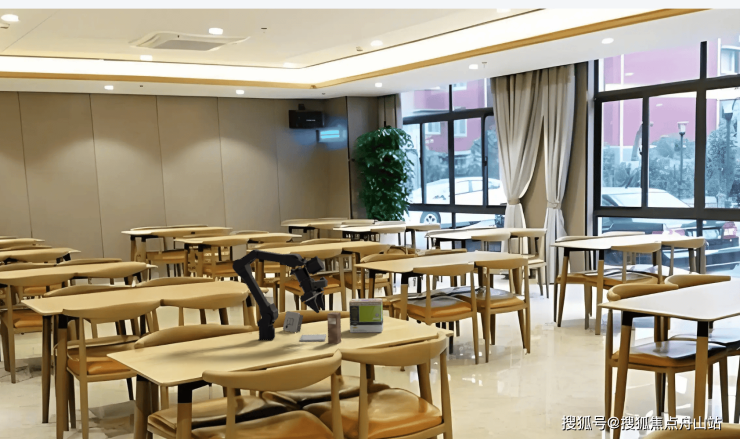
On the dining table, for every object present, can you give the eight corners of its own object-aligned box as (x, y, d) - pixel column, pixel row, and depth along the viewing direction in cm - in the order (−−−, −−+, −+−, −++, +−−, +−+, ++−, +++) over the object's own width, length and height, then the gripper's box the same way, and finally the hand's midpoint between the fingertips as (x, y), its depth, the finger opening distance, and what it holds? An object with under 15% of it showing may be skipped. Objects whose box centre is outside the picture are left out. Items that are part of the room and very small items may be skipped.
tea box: (383, 328, 341) (383, 297, 341) (381, 333, 331) (381, 301, 331) (352, 328, 343) (351, 297, 342) (349, 333, 333) (348, 301, 332)
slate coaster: (299, 341, 316) (299, 339, 315) (301, 336, 326) (301, 334, 326) (324, 341, 316) (324, 339, 316) (326, 336, 327) (326, 334, 327)
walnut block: (327, 343, 310) (326, 314, 310) (331, 341, 315) (331, 312, 314) (337, 344, 309) (336, 314, 308) (341, 342, 314) (340, 312, 313)
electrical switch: (282, 330, 341) (283, 311, 341) (290, 330, 345) (291, 310, 345) (295, 333, 335) (296, 313, 335) (303, 332, 338) (304, 312, 338)
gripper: (314, 274, 307) (331, 306, 306) (325, 269, 325) (341, 299, 324) (292, 285, 309) (309, 318, 308) (304, 280, 327) (320, 310, 326)
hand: (321, 311), depth 316 cm, fingers open, 9 cm apart
